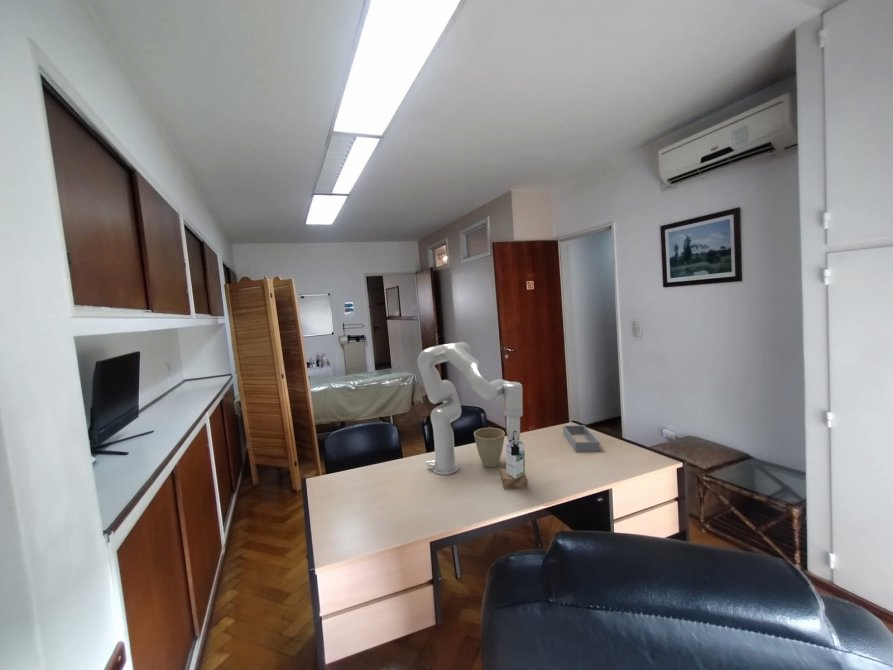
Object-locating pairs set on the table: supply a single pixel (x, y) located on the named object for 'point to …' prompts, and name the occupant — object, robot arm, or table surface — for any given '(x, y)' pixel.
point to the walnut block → (513, 481)
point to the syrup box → (515, 461)
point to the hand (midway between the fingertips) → (513, 450)
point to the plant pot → (489, 445)
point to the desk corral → (581, 446)
